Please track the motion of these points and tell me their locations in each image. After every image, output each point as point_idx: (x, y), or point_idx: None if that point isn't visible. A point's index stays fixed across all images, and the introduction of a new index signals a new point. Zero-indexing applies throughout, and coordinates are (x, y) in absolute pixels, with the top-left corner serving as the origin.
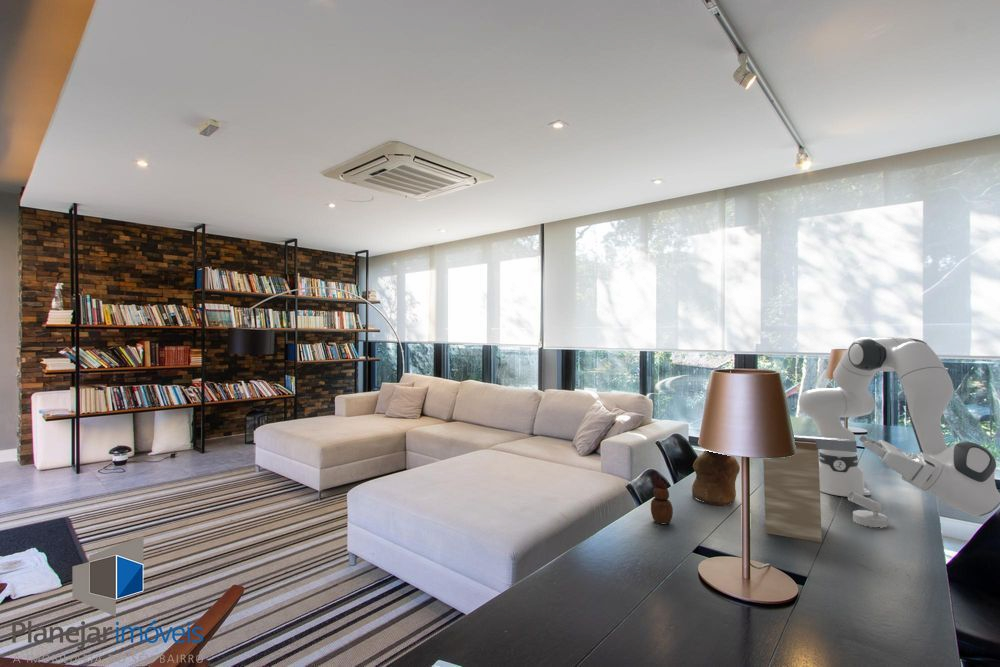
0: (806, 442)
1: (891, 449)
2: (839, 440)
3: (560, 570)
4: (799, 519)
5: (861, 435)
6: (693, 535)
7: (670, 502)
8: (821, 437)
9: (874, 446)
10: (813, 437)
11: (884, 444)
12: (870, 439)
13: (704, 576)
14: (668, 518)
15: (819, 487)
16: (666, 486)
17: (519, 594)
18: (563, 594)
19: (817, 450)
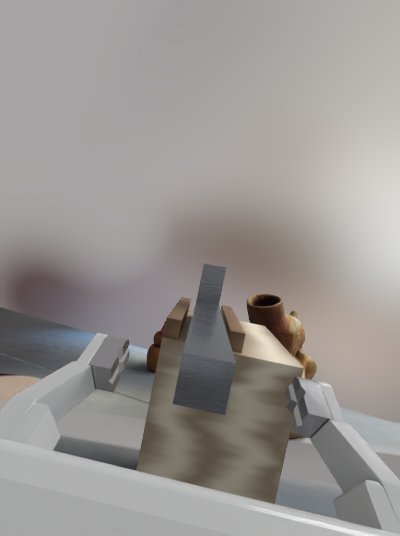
0: (176, 313)
1: (24, 505)
2: (188, 331)
3: (47, 324)
4: None
5: (316, 381)
6: (122, 384)
7: (159, 351)
8: (220, 322)
9: (65, 370)
10: (209, 314)
11: (242, 502)
12: (339, 437)
13: (3, 377)
14: (149, 363)
15: (142, 439)
16: (161, 332)
17: (16, 313)
18: (7, 322)
19: (167, 338)
